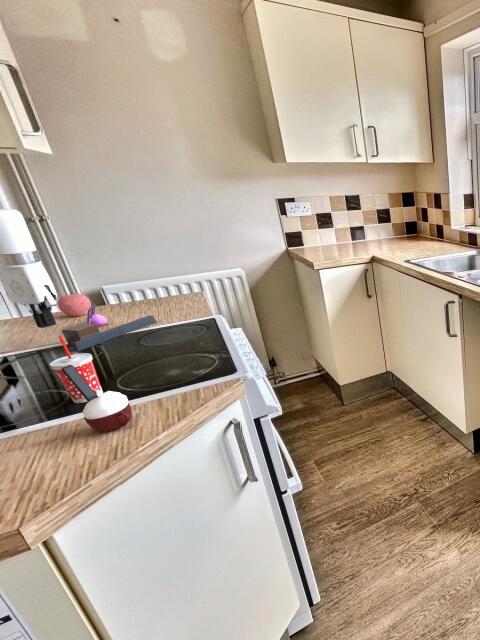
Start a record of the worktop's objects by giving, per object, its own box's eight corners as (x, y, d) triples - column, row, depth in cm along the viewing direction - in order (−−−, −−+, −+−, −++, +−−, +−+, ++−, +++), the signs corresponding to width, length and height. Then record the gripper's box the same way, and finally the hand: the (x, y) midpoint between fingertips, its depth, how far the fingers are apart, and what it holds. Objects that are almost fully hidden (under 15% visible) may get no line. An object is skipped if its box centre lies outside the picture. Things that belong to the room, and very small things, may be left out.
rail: (73, 351, 111) (69, 342, 110) (152, 322, 131) (149, 315, 130) (78, 351, 111) (74, 343, 110) (156, 323, 131) (153, 315, 130)
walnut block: (69, 346, 114) (61, 329, 112) (88, 339, 119) (81, 323, 117) (84, 347, 113) (76, 330, 111) (103, 340, 118) (96, 324, 116)
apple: (101, 312, 141) (91, 289, 138) (76, 320, 135) (66, 296, 131) (83, 311, 142) (73, 288, 139) (58, 319, 136) (47, 295, 133)
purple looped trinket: (90, 302, 129) (84, 310, 122) (113, 305, 132) (108, 312, 125) (88, 323, 130) (82, 332, 123) (111, 325, 133) (107, 333, 127)
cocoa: (142, 426, 78) (118, 368, 73) (97, 443, 73) (68, 382, 69) (128, 410, 83) (104, 355, 79) (85, 425, 79) (57, 367, 74)
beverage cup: (77, 394, 90) (48, 333, 84) (113, 388, 92) (87, 328, 86) (62, 408, 84) (30, 344, 79) (100, 402, 86) (71, 339, 81)
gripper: (-24, 260, 106) (8, 328, 113) (24, 263, 104) (53, 332, 111) (13, 255, 113) (41, 319, 120) (59, 257, 111) (85, 323, 118)
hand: (47, 325), depth 115 cm, fingers closed
